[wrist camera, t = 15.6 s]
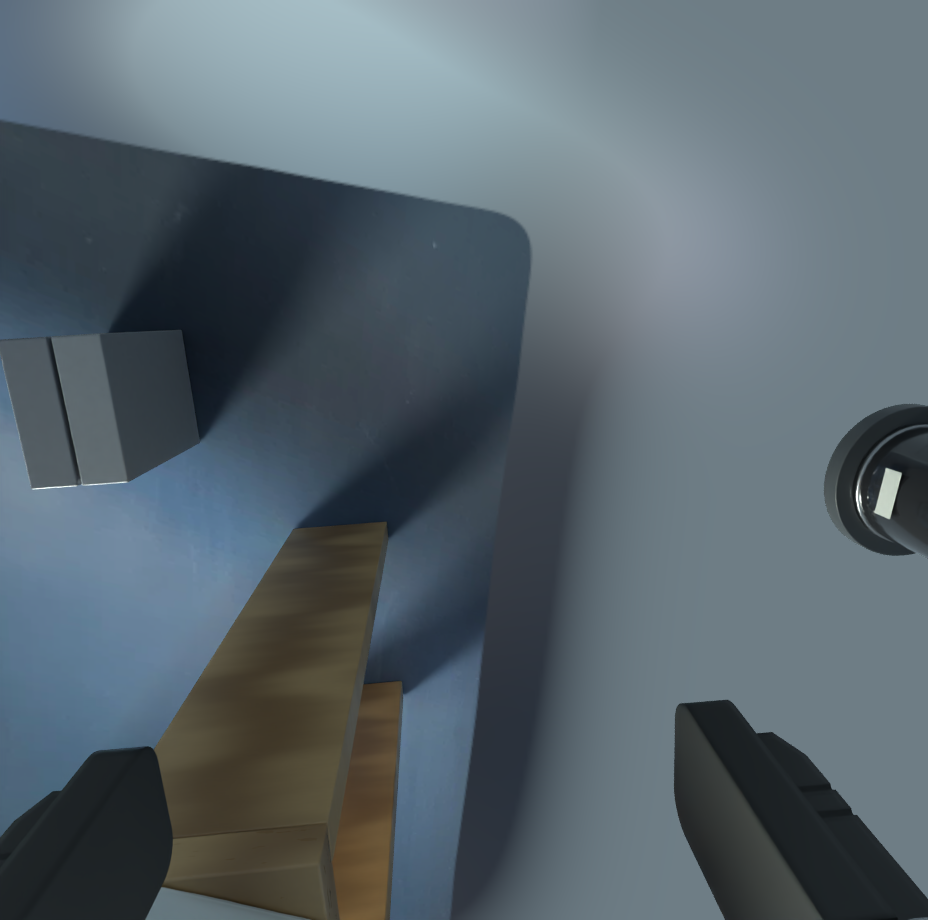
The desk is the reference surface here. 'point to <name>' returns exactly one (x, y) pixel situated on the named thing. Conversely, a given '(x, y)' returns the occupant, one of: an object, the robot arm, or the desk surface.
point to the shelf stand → (298, 717)
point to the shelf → (260, 870)
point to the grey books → (99, 405)
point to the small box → (206, 908)
